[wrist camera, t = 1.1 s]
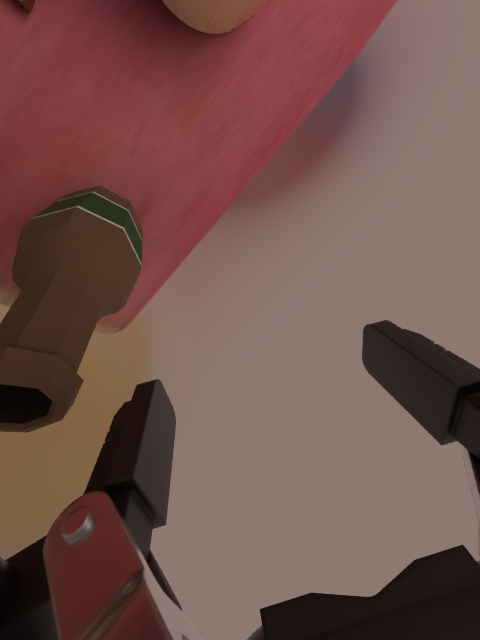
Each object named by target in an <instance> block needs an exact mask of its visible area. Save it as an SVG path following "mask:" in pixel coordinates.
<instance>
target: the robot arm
mask: <svg viewBox="0 0 480 640" xmlns="http://www.w3.org/2000/svg"><path fill="white" fill-rule="evenodd" d="M362 360H363V364H364V366H365V368H366V370H367V371H368V373H369V374H370V375H371V376H372V377H373V378H374V379H375V380H376V381H377V382H378V383H379V384H380V385H381V386H382V387H383V388H384V389H385V390H386V391H387V392H388V393H389V394H391V396H393V397H394V398H395V400H396V401H397V402H399V403H400V405H402V406H403V407H404V409H405V410H407V411H408V412H409V413H410V414H411V415H412V416H413V417H414V418H415V419H416V420H417V421H418V422H419V423H420V424H421V425H422V426H423V427H424V428H425V429H426V430H427V431H428V432H429V433H430V434H431V435H432V436H433V437H434V438H435V439H436V440H437V441H438V442H439V443H440V444H441V445H445V444H448V443H452V442H455V441H458V442H459V443H461V444H462V445H463V446H464V448H463V451H462V455H463V459H464V463H465V468H466V472H467V476H468V480H469V484H470V488H471V492H472V497H473V501H474V505H475V509H476V513H477V517H478V523H479V534H478V553H479V561H480V369H479V368H477V367H476V366H474V365H472V364H470V363H469V362H467V361H465V360H464V359H462V358H460V357H458V356H457V355H455V354H453V353H452V352H450V351H446V350H445V348H443V347H441V346H440V345H438V344H434V342H433V341H431V340H430V339H428V338H426V337H424V336H423V335H421V334H418V333H415V332H412V331H409V330H406V329H401V328H400V327H398V326H396V325H395V324H393V323H392V322H390V321H388V320H384V321H380V322H376V323H372V324H369V325H366V326H365V327H364V329H363V350H362ZM175 428H176V418H175V412H174V409H173V406H172V404H171V402H170V400H169V398H168V396H167V393H166V391H165V389H164V387H163V385H162V383H161V381H160V380H159V379H157V380H153V381H149V382H145V383H142V384H138V385H137V386H136V388H135V391H134V394H133V397H132V400H131V401H128V402H125V403H124V404H123V405H122V407H121V408H120V409H119V411H118V412H117V413H116V414H115V416H114V418H113V421H112V423H111V426H110V431H109V432H108V434H107V436H106V439H105V443H104V444H103V447H102V449H101V452H100V454H99V457H98V459H97V462H96V464H95V467H94V470H93V472H92V474H91V477H90V480H89V482H88V485H87V488H86V490H85V492H84V494H83V496H81V497H79V498H78V499H76V500H75V501H74V502H72V503H71V504H70V505H69V506H68V507H67V508H66V509H65V510H64V511H63V512H62V513H61V514H60V515H59V517H58V518H57V519H56V520H55V522H54V524H53V525H52V527H51V529H50V530H49V532H48V534H47V535H46V536H45V537H43V538H42V539H40V540H38V541H37V542H35V543H33V544H32V545H30V546H28V547H27V548H25V549H23V550H22V551H20V552H18V553H17V554H15V555H14V556H12V557H10V558H9V559H7V560H4V559H2V558H1V557H0V640H205V639H204V637H203V636H202V634H201V633H200V631H199V629H198V628H197V627H196V625H195V624H194V622H193V621H192V619H191V618H190V616H189V614H188V613H187V611H186V609H185V607H184V606H183V604H182V602H181V600H180V598H179V597H178V595H177V593H176V591H175V589H174V588H173V586H172V584H171V582H170V580H169V579H168V577H167V575H166V573H165V571H164V570H163V568H162V566H161V564H160V562H159V560H158V559H157V557H156V555H155V553H154V551H153V550H152V548H151V547H150V543H151V535H152V529H154V528H157V527H161V526H164V525H166V519H167V509H168V499H169V489H170V478H171V469H172V458H173V448H174V437H175ZM260 614H261V620H262V626H261V627H260V628H259V629H257V630H256V631H255V632H254V633H253V634H252V635H251V636H250V637H249V638H248V639H247V640H480V562H478V561H475V560H474V558H473V557H472V556H471V554H470V553H469V552H468V550H467V549H466V548H465V547H464V545H460V546H457V547H454V548H451V549H448V550H444V551H441V552H438V553H435V554H432V555H429V556H425V557H422V558H419V559H416V560H414V561H413V562H412V563H411V564H410V565H409V566H407V567H406V569H404V570H403V571H402V572H401V573H400V574H399V575H397V576H396V577H395V579H393V580H392V581H391V582H390V583H389V584H388V585H386V586H385V588H383V589H382V590H381V591H380V592H379V593H378V594H376V595H375V596H372V597H360V596H347V595H334V594H321V593H309V594H306V595H303V596H300V597H297V598H293V599H290V600H287V601H284V602H281V603H278V604H275V605H271V606H268V607H265V608H262V609H260Z"/></svg>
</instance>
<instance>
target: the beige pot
mask: <svg viewBox="0 0 480 640" xmlns="http://www.w3.org/2000/svg"><path fill="white" fill-rule="evenodd" d="M162 1H163V3H164V4H165V5H166V6H167V7H168V8H169V10H170V11H171V12H172V13H173V14H174V15H175V16H177V17H178V18H179V19H180V20H181V21H182V22H184V23H185V24H187V25H188V26H190V27H192V28H194V29H196V30H198V31H201V32H204V33H209V34H221V33H226V32H229V31H232V30H234V29H235V28H237V27H239V26H240V25H241V24H243V23H244V22H245V21H246V20H248V19H249V18H251V17H252V16H253V15H254V14H255V12H256V11H257V10H258V9H259V8H260V6H261V5H262V4H263V3H264V2H265V1H266V0H162Z"/></svg>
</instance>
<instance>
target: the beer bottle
mask: <svg viewBox="0 0 480 640" xmlns="http://www.w3.org/2000/svg"><path fill="white" fill-rule="evenodd" d="M142 238H143V233H142V228H141V226H140V224H139V221H138V219H137V217H136V215H135V212H134V210H133V208H132V206H131V203H130V202H129V201H127V200H125V199H123V198H121V197H119V196H118V195H116V194H114V193H112V192H110V191H108V190H107V189H105V188H103V187H101V186H99V187H95V188H91V189H87V190H83V191H79V192H76V193H72V194H69V195H66V196H64V197H63V198H61V199H60V200H58V201H57V202H55V203H54V204H52V205H51V206H49V207H48V208H46V209H45V210H43V211H42V212H40V213H39V214H37V215H36V216H34V217H33V218H31V219H30V220H29V221H28V222H27V223H26V225H25V226H24V227H23V228H22V230H21V234H20V238H19V243H18V247H17V251H16V255H15V260H14V264H13V268H12V272H13V281H14V282H15V283H16V284H17V285H18V287H19V288H20V289H21V290H22V291H21V292H20V294H19V295H18V297H17V299H16V300H15V302H14V303H13V305H12V306H11V308H10V309H9V311H8V313H7V314H6V316H5V317H4V319H3V320H2V322H1V324H0V431H7V432H30V431H33V430H36V429H38V428H41V427H44V426H47V425H49V424H52V423H55V422H57V421H60V420H62V419H63V418H64V416H65V415H66V413H67V412H68V410H69V409H70V407H71V406H72V405H73V403H74V401H75V398H76V396H77V394H78V392H79V389H80V387H81V385H82V383H83V379H82V378H81V377H80V376H79V375H78V374H77V370H78V368H79V365H80V363H81V360H82V358H83V355H84V353H85V350H86V348H87V345H88V343H89V340H90V338H91V335H92V333H93V330H94V328H95V325H96V324H97V322H98V321H99V319H100V318H101V317H103V316H106V315H109V314H112V313H115V312H118V311H119V310H120V309H121V308H123V307H124V306H125V304H126V302H127V300H128V298H129V296H130V294H131V291H132V289H133V287H134V285H135V283H136V281H137V278H138V276H139V273H140V269H141V263H142Z"/></svg>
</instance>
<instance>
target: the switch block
mask: <svg viewBox="0 0 480 640" xmlns="http://www.w3.org/2000/svg"><path fill="white" fill-rule="evenodd" d="M16 1H18V2H19V3H20V4H21V5H22V6H23V7H24V8H25V9H26V10H27V11H29V12H31V10H32V7H33V4H34V1H35V0H16Z"/></svg>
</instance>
